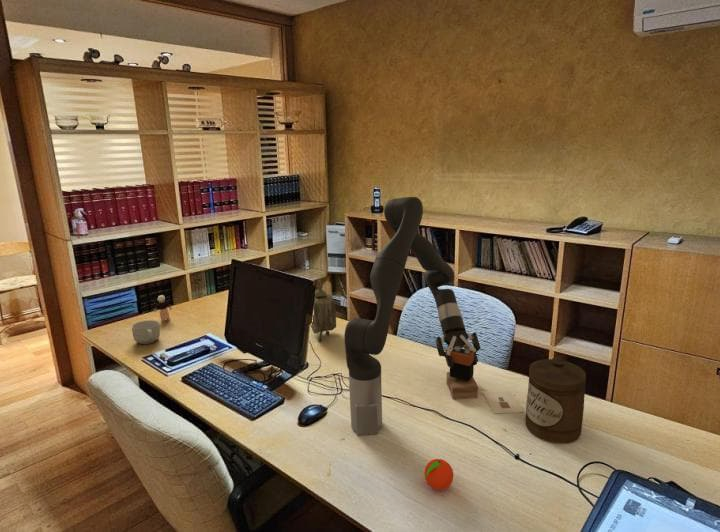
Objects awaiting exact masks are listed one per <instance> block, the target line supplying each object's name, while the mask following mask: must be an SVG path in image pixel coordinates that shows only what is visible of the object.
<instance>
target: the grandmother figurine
mask: <svg viewBox="0 0 720 532" xmlns="http://www.w3.org/2000/svg"><path fill="white" fill-rule="evenodd" d="M165 300H166V297H165V295H164V294H161V295H158V297H157V302H159V303H158V304H157V303H156V305H155V306H154V310H153V312H154V313H156V312H157V311H159V316H160V322H161V323H165V322H169V321H171V319H172V318H171V317H170V313H169V310H172V309H173V307H172V306H171V304H169V303H168V302H166V301H165ZM168 308H169V310H168Z"/></svg>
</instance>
